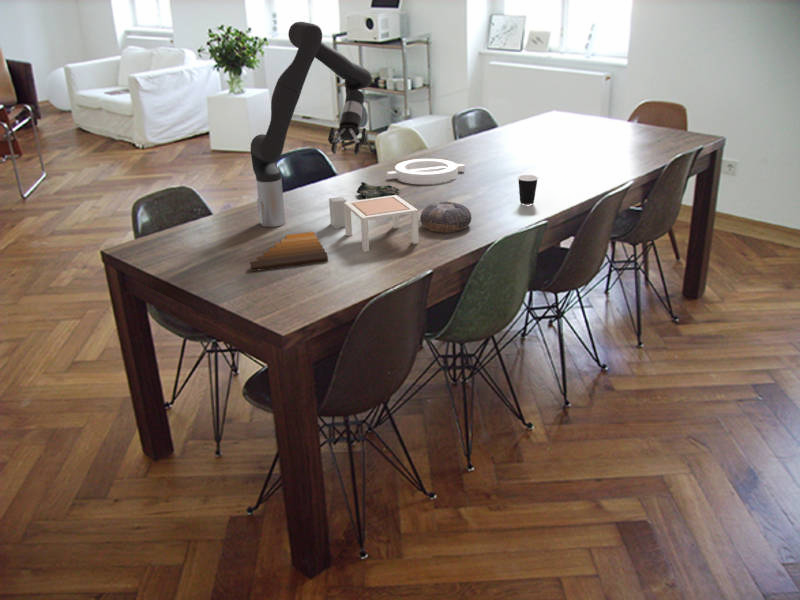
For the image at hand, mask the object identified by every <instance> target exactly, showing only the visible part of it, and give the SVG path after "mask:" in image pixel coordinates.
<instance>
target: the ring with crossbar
mask: <svg viewBox="0 0 800 600" xmlns="http://www.w3.org/2000/svg"><path fill="white" fill-rule="evenodd" d="M465 170H466V167H465V164H463V163H459V164H458V163H455V162H454V161H451V160H448V159H447V160H446V159H441V158H440V159H439V158H414V159H408V160H404V161H402V162H399V163H397V164H396V165H395V166H394V170H393V171H392V170H391V171H387V172H386V173H387V174H386V176H387V178H388V179H389V180H392V179H393V180H394V179H396V180H397V181H399V182H402V183H405V184H411V185H412V184H413V185H436V184H435V183H438V184H442V183H441V182H444V183H446V182H445V181H449V180H452V179H454V178H455V177H457V178H458V176H457V175H458V174H459V173H460V172H465ZM454 180H455V179H454ZM452 181H453V180H452ZM449 182H450V181H449Z"/></svg>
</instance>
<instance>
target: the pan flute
mask: <svg viewBox="0 0 800 600" xmlns="http://www.w3.org/2000/svg"><path fill="white" fill-rule="evenodd" d="M323 246H324V245H323V244H321V241H319V238H318V237H317V234H315V231H310V232H301V233H294V234H293V233H292V234H286V235H285V238H281V239H280V240H279V242H278V243H276V242H275V243H274V246H273V247H269V248H268V251H265V252H262V256H256V260H254V261H250V263H249V265H250V266H249V267H250V269H251V270H258V269H265V270H270V269H269V268H273V269H279V268H278V267H281V268H287V266H288V267H295V266H303V264H304V265H308V264H309V265H310V264H318V263H325V262H329V256H328V252H327V251H326V250H325V248H324V247H323ZM258 271H259V270H258Z"/></svg>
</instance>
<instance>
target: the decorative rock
mask: <svg viewBox="0 0 800 600" xmlns="http://www.w3.org/2000/svg"><path fill="white" fill-rule="evenodd" d="M399 191H400V189H399V188H398V187H395V186H392V185H389V184H388V185H378V186H374V185H370V184H368V183H366V182H363V181H361V182H360V185H359V186H358V189H357V190H356V193H357V194H359V195H363V196H365V197H366V198H365V199H371V198H378V197H385V196H392V195H397V196H398V195H400V193H399Z"/></svg>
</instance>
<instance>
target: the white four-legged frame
mask: <svg viewBox="0 0 800 600" xmlns="http://www.w3.org/2000/svg"><path fill="white" fill-rule="evenodd" d="M386 198H394V199H395V200H396V201H398V202H399V203H401V204H402V205H403V206H405V207H406V208H408V210H402V211H396V212H389V213H382V214H375V215H368V216H365V215H364V214H363V213H362V212H361V211H359V210H358V209H357V208H356V207H355V206H353V203H358V202H365V201H372V200H379V199H386ZM344 212H345V227H344V229H345V235H346V236H353V230H352V229H353V228H352V213H353V214H354V215H355V216H356V217H357V218H359V220H360V227H361V246H362V248H361V249H362V252H364V253H366V252H370V244H369V243H370V242H369V241H370V240H369V221H371V220H378V219H386V218H391V219H392V228H393V229H399V228H400V218H399V217H400V216H405V215H410V223H411V225H410V226H411V231H410V232H411V243H412V244H413V245H415V244H419V210H418V209H417V208H416V207H414V206H413V205H411V204H410V203H408V202H407V201H406V200H404V199H403V198H401V197H400V196H399V195H398V194H397V195H392V196H386V195H384V196H379V197H378V198H376V197H375V198H371V199H367V198H364V199H357V200H351V201H346V202H344Z"/></svg>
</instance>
